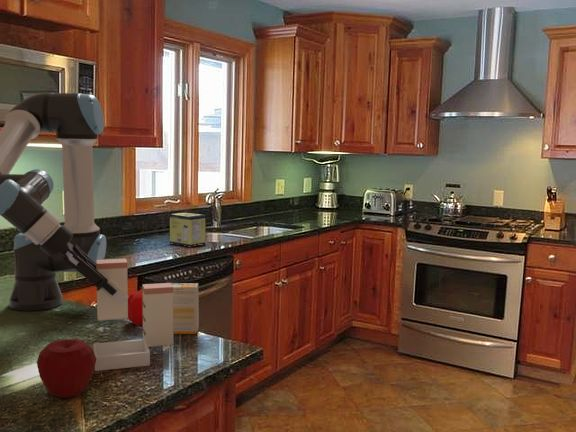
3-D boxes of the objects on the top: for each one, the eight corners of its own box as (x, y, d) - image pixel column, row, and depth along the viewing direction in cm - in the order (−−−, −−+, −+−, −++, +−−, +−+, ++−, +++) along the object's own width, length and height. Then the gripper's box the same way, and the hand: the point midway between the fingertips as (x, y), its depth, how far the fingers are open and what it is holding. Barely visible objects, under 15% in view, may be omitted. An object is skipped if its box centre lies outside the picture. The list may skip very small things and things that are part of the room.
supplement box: (199, 329, 160) (199, 282, 158) (196, 334, 155) (197, 287, 153) (169, 328, 159) (169, 282, 158) (165, 334, 155) (165, 286, 153)
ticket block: (142, 341, 149) (142, 284, 147) (170, 338, 151) (170, 282, 149) (144, 347, 144) (144, 288, 143) (173, 344, 147) (173, 287, 145)
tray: (93, 356, 138) (93, 343, 137) (145, 351, 142) (145, 339, 141) (94, 370, 129) (94, 357, 128) (149, 365, 133) (149, 352, 132)
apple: (25, 401, 113) (24, 343, 112) (64, 380, 123) (63, 327, 122) (70, 411, 109) (69, 351, 108) (107, 389, 119) (106, 334, 118)
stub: (97, 315, 144) (96, 259, 142) (126, 312, 146) (125, 258, 144) (97, 320, 140) (96, 263, 138) (127, 318, 142) (127, 262, 140)
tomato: (130, 317, 169) (130, 282, 168) (173, 318, 169) (174, 284, 167) (118, 329, 158) (117, 292, 157) (164, 330, 158) (164, 294, 156)
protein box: (183, 241, 302) (184, 212, 300) (205, 245, 293) (206, 214, 291) (169, 244, 293) (169, 213, 292) (191, 247, 285) (191, 216, 283)
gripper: (40, 239, 143) (110, 299, 151) (35, 253, 127) (115, 320, 134) (62, 218, 144) (131, 278, 152) (60, 229, 128) (138, 296, 136)
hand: (123, 298), depth 143 cm, fingers closed on stub, 4 cm apart
